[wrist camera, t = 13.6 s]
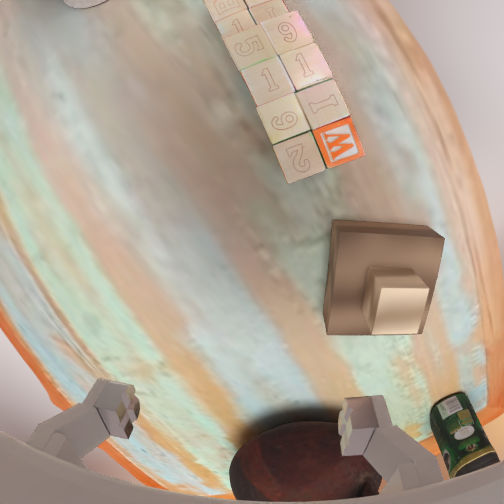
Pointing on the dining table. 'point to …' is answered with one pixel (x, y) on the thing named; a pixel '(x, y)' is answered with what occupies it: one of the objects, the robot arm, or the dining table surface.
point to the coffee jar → (461, 436)
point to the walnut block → (374, 255)
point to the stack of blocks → (288, 85)
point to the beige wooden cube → (394, 300)
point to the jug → (300, 466)
